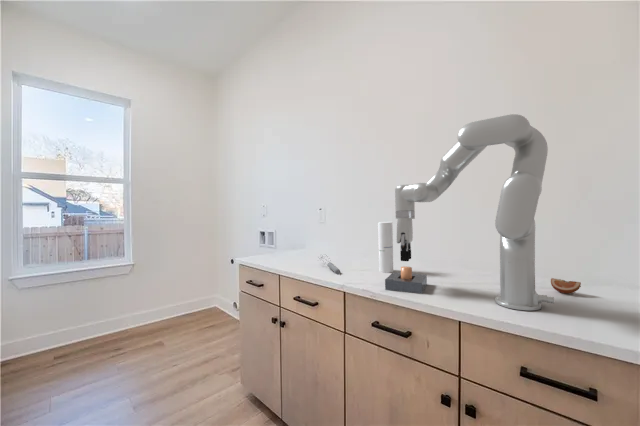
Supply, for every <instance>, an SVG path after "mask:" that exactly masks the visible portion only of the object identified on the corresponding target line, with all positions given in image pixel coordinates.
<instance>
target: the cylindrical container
mask: <svg viewBox="0 0 640 426" xmlns="http://www.w3.org/2000/svg"><path fill="white" fill-rule="evenodd" d="M377 230H378V231H377V234H378V235H377V236H378V237H377V238H378V239H377V240H378V272H380V273H383V274H384V273H385V274H388V273H389V274H391V273H393V272H394V243H393V242H394V239H393V235H394V233H393V232H394V231H393V230H394V229H393V221H379V222H377Z"/></svg>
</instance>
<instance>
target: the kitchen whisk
mask: <svg viewBox="0 0 640 426" xmlns="http://www.w3.org/2000/svg"><path fill="white" fill-rule="evenodd" d="M324 255H326V256H324ZM325 257H327V258H328V260H327V259H325ZM318 260H325V261H326V262H325V261H324V264H323V265H324V266H326V267H328V268H329V270H331V271H333V272H334V274H336V275H341V269H339V267H337V266H336V265H335V264H333V263H332V261H331V258H330V257H328V255H327V254H321V256H319V257H318Z"/></svg>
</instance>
